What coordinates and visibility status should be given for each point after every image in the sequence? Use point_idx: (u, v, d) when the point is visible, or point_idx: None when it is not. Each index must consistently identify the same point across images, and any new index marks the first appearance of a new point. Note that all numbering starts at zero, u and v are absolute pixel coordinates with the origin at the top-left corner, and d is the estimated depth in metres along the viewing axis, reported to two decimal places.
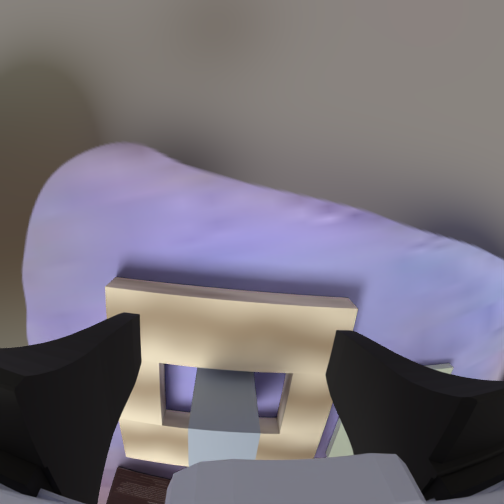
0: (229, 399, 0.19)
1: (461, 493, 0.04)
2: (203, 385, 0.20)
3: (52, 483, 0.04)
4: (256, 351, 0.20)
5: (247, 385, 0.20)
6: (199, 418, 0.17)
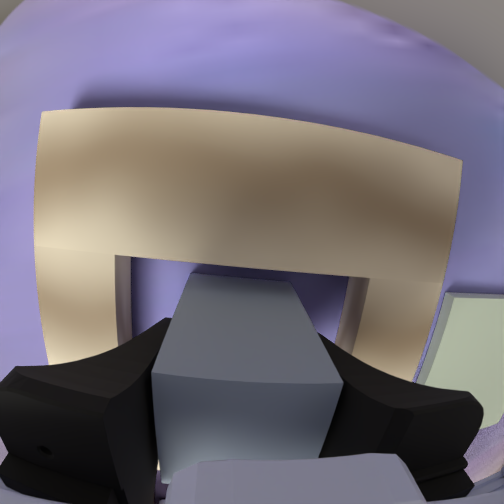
0: (254, 319, 0.09)
1: None
2: (198, 299, 0.10)
3: (121, 503, 0.04)
4: (306, 224, 0.11)
5: (286, 302, 0.11)
6: (184, 352, 0.07)
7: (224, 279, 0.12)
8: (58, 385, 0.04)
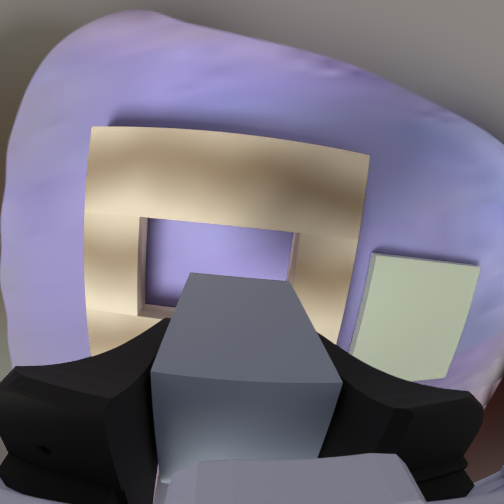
0: (253, 319, 0.09)
1: None
2: (198, 299, 0.10)
3: (121, 503, 0.04)
4: (256, 197, 0.17)
5: (286, 302, 0.11)
6: (183, 351, 0.07)
7: (224, 279, 0.12)
8: (58, 384, 0.04)
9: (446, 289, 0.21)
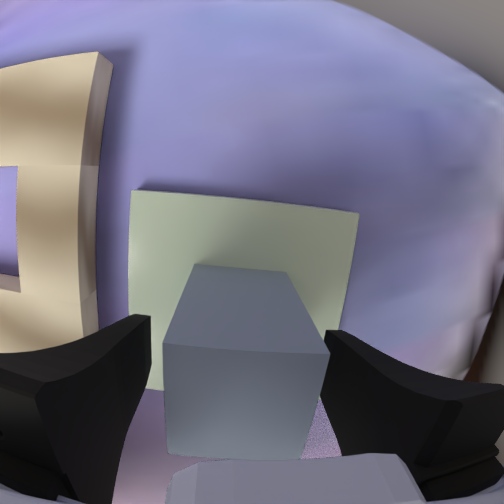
0: (252, 303, 0.10)
1: (447, 498, 0.04)
2: (202, 285, 0.11)
3: (69, 489, 0.04)
4: None
5: (282, 289, 0.12)
6: (190, 327, 0.08)
7: (225, 269, 0.14)
8: (4, 367, 0.04)
9: (283, 250, 0.14)
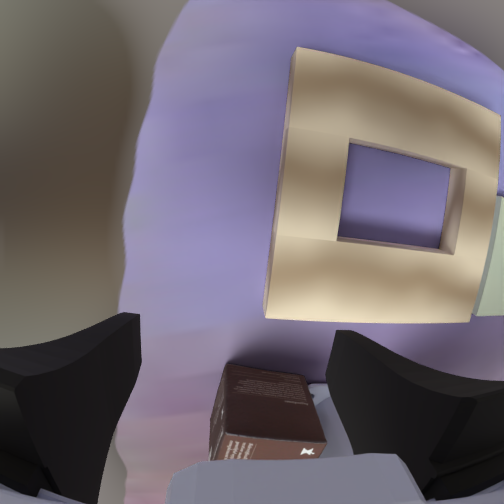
0: None
1: (461, 493, 0.04)
2: None
3: (52, 483, 0.04)
4: (439, 135, 0.17)
5: None
6: None
7: None
8: None
9: None
